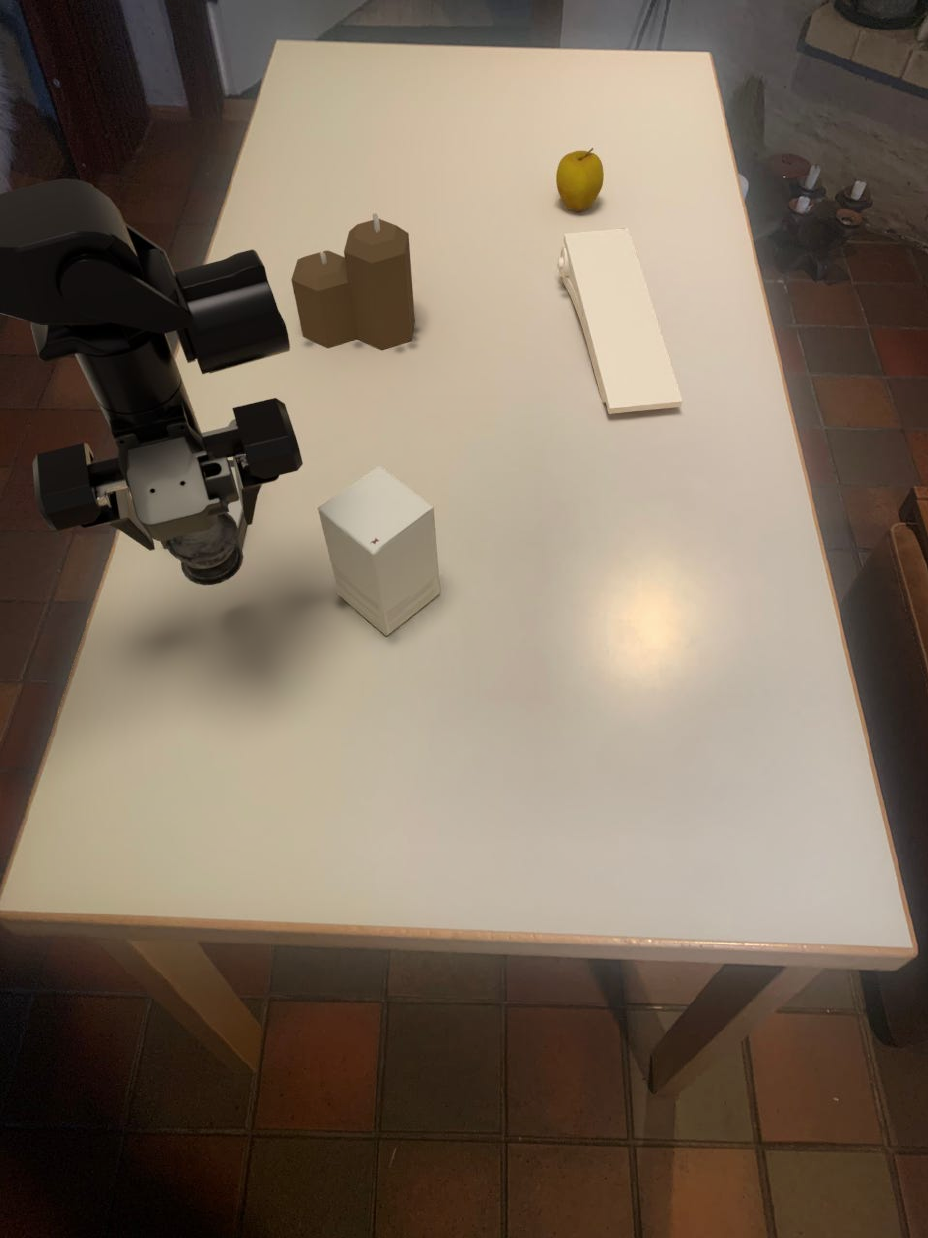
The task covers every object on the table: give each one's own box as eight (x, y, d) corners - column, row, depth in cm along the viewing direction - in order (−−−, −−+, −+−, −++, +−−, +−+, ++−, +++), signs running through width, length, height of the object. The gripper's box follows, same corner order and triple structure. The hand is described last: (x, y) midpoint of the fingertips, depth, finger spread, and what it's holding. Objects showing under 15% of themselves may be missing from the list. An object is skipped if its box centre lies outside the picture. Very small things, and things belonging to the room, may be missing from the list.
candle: (443, 310, 106) (439, 194, 93) (377, 371, 100) (363, 255, 87) (358, 275, 110) (343, 159, 98) (290, 330, 104) (265, 215, 92)
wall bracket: (665, 443, 100) (617, 276, 112) (695, 402, 94) (640, 229, 106) (588, 438, 97) (547, 267, 109) (614, 395, 91) (567, 219, 103)
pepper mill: (187, 597, 70) (140, 500, 60) (170, 547, 73) (123, 447, 63) (255, 574, 72) (220, 475, 62) (236, 525, 75) (199, 424, 65)
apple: (608, 205, 119) (616, 147, 112) (580, 224, 116) (586, 166, 110) (573, 188, 121) (579, 131, 115) (545, 206, 119) (549, 149, 112)
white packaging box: (442, 593, 82) (437, 507, 71) (385, 638, 79) (371, 555, 68) (392, 551, 85) (380, 462, 74) (335, 593, 82) (314, 507, 71)
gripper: (-3, 505, 51) (94, 643, 64) (300, 431, 54) (334, 577, 67) (-8, 387, 56) (81, 535, 69) (265, 327, 60) (302, 479, 73)
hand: (200, 533), depth 69 cm, fingers closed on pepper mill, 8 cm apart
